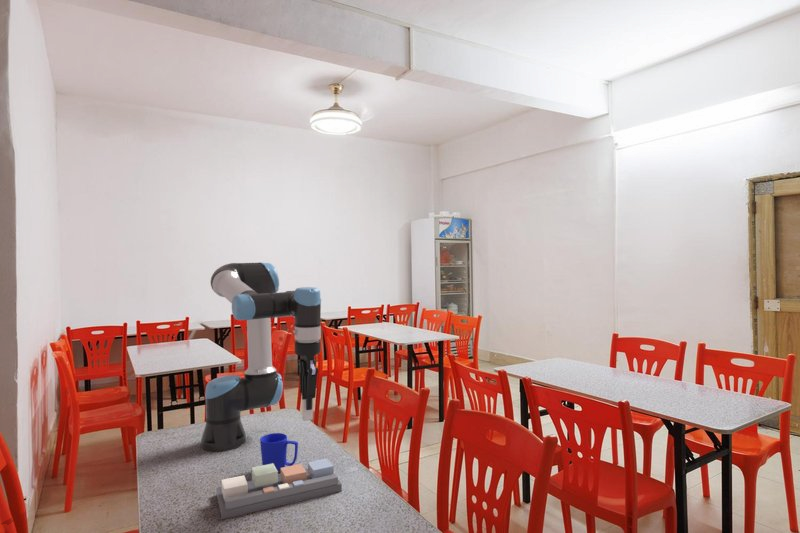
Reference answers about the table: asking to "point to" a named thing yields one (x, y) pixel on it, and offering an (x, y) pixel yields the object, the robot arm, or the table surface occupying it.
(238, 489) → the ivory key
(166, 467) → the table surface
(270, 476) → the sage key
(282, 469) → the terracotta key
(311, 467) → the blue key
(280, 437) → the mug
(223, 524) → the table surface
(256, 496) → the keypad
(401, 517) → the table surface
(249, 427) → the table surface
